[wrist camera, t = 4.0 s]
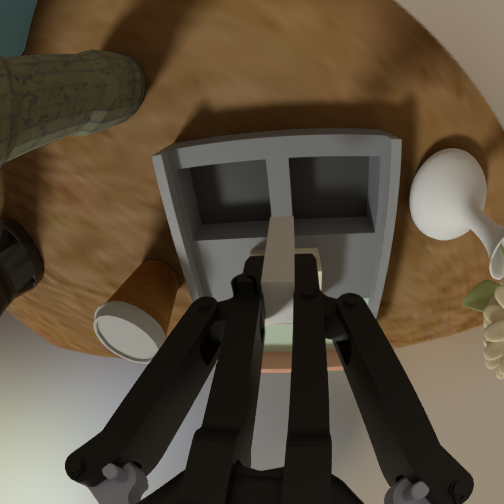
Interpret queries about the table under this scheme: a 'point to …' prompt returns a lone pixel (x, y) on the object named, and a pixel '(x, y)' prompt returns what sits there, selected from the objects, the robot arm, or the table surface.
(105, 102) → the thermos
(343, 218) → the box
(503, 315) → the flower in vase
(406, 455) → the robot arm
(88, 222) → the table surface
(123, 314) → the disposable coffee cup
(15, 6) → the data package
